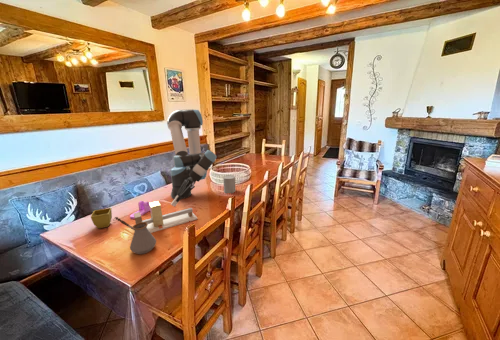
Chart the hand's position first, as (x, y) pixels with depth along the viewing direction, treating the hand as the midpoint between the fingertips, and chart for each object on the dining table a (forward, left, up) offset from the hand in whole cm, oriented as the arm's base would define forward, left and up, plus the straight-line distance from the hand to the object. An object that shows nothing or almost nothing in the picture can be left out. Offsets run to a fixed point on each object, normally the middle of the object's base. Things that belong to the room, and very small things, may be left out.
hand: (172, 205), depth 127 cm
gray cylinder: (-25, +50, -11) cm, 57 cm away
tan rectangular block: (-1, -9, -9) cm, 13 cm away
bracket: (-24, -16, -11) cm, 31 cm away
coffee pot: (+15, -22, -11) cm, 29 cm away
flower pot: (-20, -36, -11) cm, 42 cm away
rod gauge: (-1, -4, -11) cm, 12 cm away
